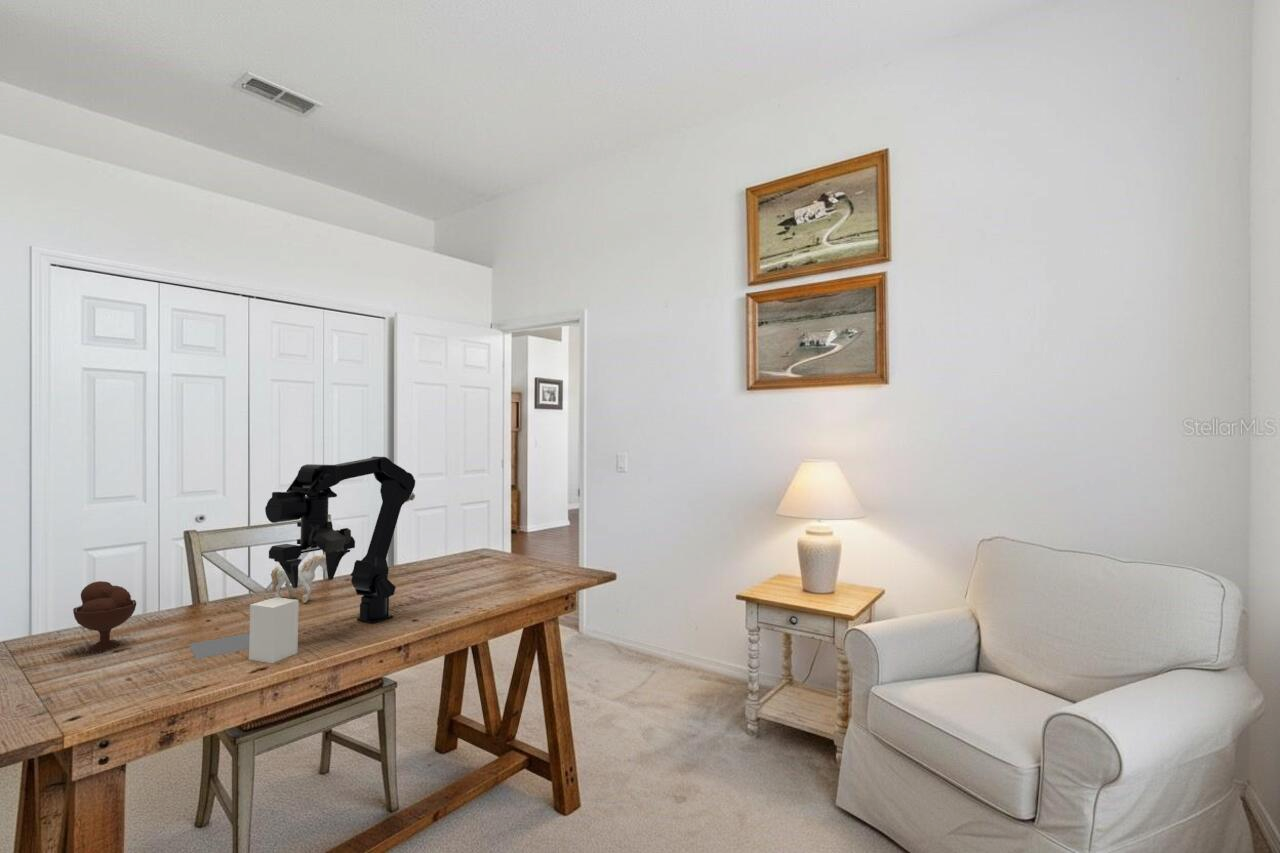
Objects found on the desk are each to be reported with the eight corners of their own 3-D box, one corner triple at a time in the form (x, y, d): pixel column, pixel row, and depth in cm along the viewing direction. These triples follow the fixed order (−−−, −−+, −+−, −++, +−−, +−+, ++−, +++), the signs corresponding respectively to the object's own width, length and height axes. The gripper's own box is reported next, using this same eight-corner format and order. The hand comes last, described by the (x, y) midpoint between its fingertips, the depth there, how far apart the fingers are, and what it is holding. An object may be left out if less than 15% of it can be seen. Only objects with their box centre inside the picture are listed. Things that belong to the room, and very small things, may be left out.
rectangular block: (275, 651, 139) (276, 597, 139) (297, 654, 137) (298, 600, 137) (248, 661, 133) (250, 604, 133) (271, 665, 131) (273, 607, 131)
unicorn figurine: (332, 603, 177) (333, 556, 177) (259, 605, 174) (260, 557, 174) (341, 597, 184) (342, 551, 184) (271, 598, 181) (272, 552, 182)
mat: (249, 634, 149) (249, 633, 149) (261, 648, 141) (261, 646, 141) (188, 645, 141) (188, 644, 141) (196, 660, 132) (196, 658, 132)
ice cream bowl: (99, 658, 133) (101, 588, 133) (58, 654, 135) (59, 584, 135) (148, 642, 143) (149, 577, 143) (108, 638, 145) (110, 574, 145)
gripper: (300, 525, 136) (298, 597, 135) (371, 515, 152) (370, 579, 152) (267, 521, 140) (266, 590, 140) (340, 512, 157) (338, 574, 157)
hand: (313, 583), depth 147 cm, fingers open, 9 cm apart
